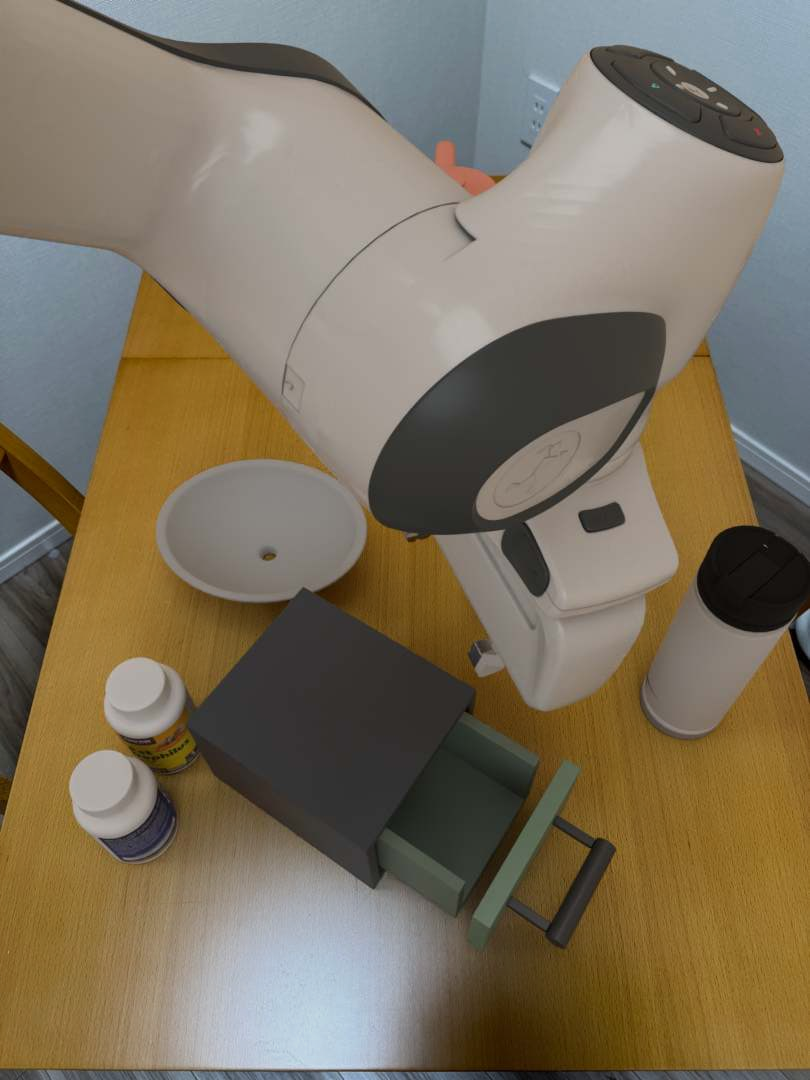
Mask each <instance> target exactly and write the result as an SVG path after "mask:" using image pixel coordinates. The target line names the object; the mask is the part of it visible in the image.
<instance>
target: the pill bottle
mask: <svg viewBox="0 0 810 1080" xmlns="http://www.w3.org/2000/svg"><path fill="white" fill-rule="evenodd" d="M68 790H69V791H68V792H69V795H70V798H71V801H72V802H71V806H72V813H73V815H74V816H73V817H74V818H75V820H76V822H77V823H78V825H79V826H80V828H82V830H84V832H86V833H87V834H88V835H89V836H90V837H91V838H92V839H94V841H96V842H97V843H98V844H99V845H100V846H101V847H102V848H103V849H104V850H105V851H106V852H107V853H109V855H111V856H112V857H113V858H115V859H116V860H117V861H120V862H122V863H125V864H128V865H129V864H130V865H140V864H146V863H149V862H151V861H154V860H155V859H157V858H159V857H160V856H161V855H163V854H164V853H165V852H166V851H167V850H168V849H169V847H170V846H171V845H172V843H173V841H174V840H175V837H176V836H177V833H178V830H179V824H180V823H179V821H180V819H179V818H180V816H179V811H178V808H177V807H178V806H176V804H175V801H174V799H173V797H171V795H170V794H169V793H168V791H167V790H166V788H165V787H164V785H163V784H162V783H161V781H160V780H159V779H158V777H157V776H156V774H155V773H153V772H152V771H151V769H150V768H149V767H148V766H147V765H146V764H145V763H144V762H142V761H141V760H139V759H137V758H134V757H133V756H130V755H125V754H123V753H121V752H120V751H118V750H113V749H102V750H97V751H95V752H92V753H90V754H89V755H87V756H85V757H84V758H83V759H82V760H80V761H79V763H77V764H76V766H75V767H74V769H73V771H72V773H71V775H70V779H69V784H68Z"/></svg>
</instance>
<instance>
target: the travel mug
mask: <svg viewBox="0 0 810 1080" xmlns="http://www.w3.org/2000/svg"><path fill="white" fill-rule="evenodd" d="M809 597H810V560H809V559H808V557H806V555H805V554H804V553H803V552H802V551H801V552H800V550H799V549H798V548H797V547H796V546H795V545H793V544H792V543H791V542H790V541H788V540H786V539H785V538H783V537H781V536H779V535H777V532H775V531H772V530H770V529H768V528H765V527H762V526H758V525H750V524H749V525H747V524H744V525H743V524H742V525H734V526H731V527H728V528H725V529H724V530H722V531H719V533H718V534H717V535H715V537H714V538H713V540H712V541H711V543H710V546H709V548H708V549H707V551H706V554H705V555H704V558H703V559H702V561H701V562H700V564H699V566H698V568H697V570H696V572H695V574H694V576H693V578H692V579H691V582H690V584H689V586H688V588H687V590H686V593H685V595H684V597H683V599H682V601H681V602H680V605H679V607H678V609H677V611H676V613H675V615H674V617H673V619H672V622H671V623H670V626H669V627H668V629H667V631H666V633H665V636H664V638H663V640H662V641H661V644H660V646H659V648H658V650H657V652H656V654H655V656H654V659H653V660H652V662H651V665H650V667H649V669H648V671H647V673H646V674H645V677H644V678H643V681H642V683H641V686H640V690H639V700H640V705H641V709H642V711H643V713H644V715H645V717H646V718H647V719H648V721H649V722H650V724H652V725H653V726H654V727H655V728H656V729H657V730H659V731H660V732H662V733H664V734H665V735H667V736H669V737H672V738H675V739H680V740H685V741H687V740H696V739H702V738H703V737H706V736H708V735H709V734H711V733H713V731H714V730H715V729H716V728H717V727H718V726H719V725H720V723H721V722H722V720H723V718H724V717H725V716H726V715H727V713H728V712H729V710H731V708H732V706H733V705H734V703H735V702H736V701H737V699H738V698H739V697H740V695H741V693H742V692H743V691H744V690H745V688H746V687H747V685H748V684H749V683H750V682H751V680H752V679H753V677H754V675H755V674H756V673H757V671H758V670H759V668H760V667H761V666H762V664H763V663H764V662H765V660H766V659H767V658H768V656H769V655H770V653H771V652H772V650H773V649H774V647H775V646H776V645H777V644H778V642H779V641H780V639H781V638H782V636H783V635H784V634H785V633H786V631H787V630H788V628H789V627H790V626H791V624H792V622H793V621H794V620H795V619H796V617H797V615H798V612H799V611H800V610H801V609H802V607H803V606H804V604H805V603H806V601H808V599H809Z"/></svg>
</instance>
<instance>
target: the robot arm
mask: <svg viewBox="0 0 810 1080" xmlns="http://www.w3.org/2000/svg"><path fill="white" fill-rule="evenodd" d="M785 170H786V157H785V154H784V151H783V149H782V147H781V146H780V143H779V141H778V140H777V136H776V134H775V133H774V131H773V130H772V129H771V128H770V127H769V126H768V124H767V122H766V121H765V119H763V118H762V116H761V115H760V114H759V113H757V112H756V111H755V110H754V109H753V108H751V107H750V106H748V105H747V104H746V103H745V102H743V101H742V100H740V99H739V98H738V97H737V96H735V95H734V94H732V93H731V92H730V91H729V90H727V89H725V88H724V87H722V86H721V85H719V84H718V83H716V82H715V81H713V80H712V79H709V78H708V77H707V76H706V75H704V74H702V73H701V72H699V71H697V70H696V69H691V68H688V67H687V66H685V65H683V64H680V63H678V62H677V61H675V60H674V59H673V58H671V57H668V56H666V55H664V54H661V53H658V52H655V51H653V50H648V49H645V48H640V47H637V46H634V45H633V46H632V45H626V44H614V45H600V46H595V47H592V48H590V49H588V50H587V51H585V52H584V53H582V56H581V57H580V58H579V59H578V61H577V62H576V64H575V65H574V67H573V68H572V69H571V71H570V73H569V75H568V76H567V77H566V79H565V81H564V82H563V85H562V87H561V88H560V90H559V92H558V93H557V95H556V98H555V99H554V101H553V103H552V105H551V106H550V108H549V110H548V112H547V114H546V117H545V119H544V120H543V122H542V124H541V127H540V128H539V131H538V132H537V134H536V137H535V139H534V141H533V143H532V145H531V147H530V150H529V152H528V154H527V155H526V157H525V159H524V160H523V161H522V162H521V163H520V164H519V165H517V167H516V168H514V169H513V171H512V172H510V173H509V174H507V176H505V177H504V178H502V179H501V180H500V181H499V182H497V183H496V185H494V186H493V187H491V188H490V189H488V190H486V191H484V192H482V193H481V194H479V195H476V196H472V195H471V194H470V193H469V192H468V191H467V190H465V189H464V188H463V187H462V186H461V185H460V184H458V183H457V182H456V181H455V180H454V179H453V178H451V177H450V176H449V175H448V174H447V173H446V172H444V171H443V170H442V169H441V168H440V167H439V166H437V165H436V164H435V161H433V160H432V159H431V158H430V157H428V156H427V155H426V154H425V153H423V152H422V151H421V150H420V149H419V148H418V147H417V146H416V145H414V144H413V142H412V143H411V141H410V140H408V139H407V138H406V137H405V136H404V135H403V134H401V133H400V132H399V131H398V130H397V129H395V128H394V127H393V126H392V125H391V124H390V123H389V122H388V121H387V120H386V118H385V117H384V116H383V114H382V113H381V112H380V111H379V109H378V108H377V107H375V106H374V105H373V104H372V103H371V101H369V100H368V99H367V97H365V96H364V95H363V94H362V93H361V92H360V91H359V89H358V88H357V87H356V86H354V85H353V83H352V82H351V81H350V80H349V79H348V78H347V77H346V76H345V75H344V74H343V73H342V72H341V71H340V69H339V70H338V68H337V67H336V66H334V65H333V64H332V63H331V62H330V61H328V60H326V59H325V58H323V57H321V56H320V55H318V54H316V53H314V52H312V51H309V50H306V49H304V48H301V47H296V46H294V45H289V44H288V45H287V44H281V43H273V42H193V41H185V40H177V39H171V38H166V37H162V36H158V35H155V34H152V33H149V32H146V31H143V30H141V29H138V28H135V27H133V26H130V25H128V24H125V23H123V22H121V21H119V20H117V19H115V18H113V17H111V16H108V15H106V14H104V13H102V12H99V11H98V10H96V9H93V8H91V7H89V6H87V5H84V4H83V3H80V2H78V1H76V0H0V236H6V237H13V238H14V237H15V238H20V239H27V240H35V241H42V242H50V243H56V244H63V245H70V246H71V245H72V246H77V247H85V248H90V249H99V250H105V251H109V252H112V253H115V254H117V255H119V256H121V257H123V258H124V259H127V260H128V261H130V262H131V263H133V264H134V265H136V266H137V267H139V268H140V269H141V270H143V271H144V272H145V273H147V275H148V276H149V277H151V279H152V280H153V281H154V282H156V284H158V286H160V288H162V290H164V292H165V293H166V294H167V295H169V297H171V299H172V300H174V301H175V302H176V304H177V305H178V306H179V307H181V308H182V309H184V310H185V311H186V312H187V313H188V314H190V315H191V316H192V317H193V318H194V319H195V320H196V321H197V322H198V324H200V326H201V327H202V328H203V329H204V330H205V331H206V332H207V333H208V334H209V335H210V337H211V338H212V339H213V340H214V341H215V342H216V343H217V344H218V345H219V346H220V347H221V348H222V350H223V351H224V352H225V353H226V355H228V357H230V359H231V360H232V361H233V362H234V363H235V364H236V365H237V366H238V367H239V368H240V370H241V371H242V372H243V373H244V374H245V376H246V377H247V378H248V379H249V380H250V381H251V382H252V383H253V384H254V386H256V388H257V389H258V390H259V391H260V392H261V394H263V395H264V397H265V398H266V399H267V400H268V401H269V402H270V403H271V405H273V407H274V408H275V409H276V410H277V411H278V412H279V413H280V415H282V417H283V418H284V419H285V420H286V421H287V423H288V424H289V425H290V427H291V430H293V431H294V432H295V433H296V434H297V435H298V437H299V438H300V439H301V440H302V441H303V442H304V443H305V445H307V447H308V449H310V450H311V451H312V452H313V453H314V455H315V456H316V457H317V458H318V459H319V460H320V462H322V464H323V466H325V467H326V468H327V469H328V470H329V471H330V472H331V474H332V475H333V476H334V477H335V479H337V480H338V481H339V482H341V483H342V484H343V485H344V486H345V487H346V488H347V489H348V490H349V492H350V493H351V494H352V495H353V496H354V497H355V498H356V499H357V500H358V501H359V503H360V505H361V506H362V507H364V508H365V509H366V510H367V511H368V512H369V513H371V514H372V516H373V517H374V519H375V520H376V521H377V522H378V523H379V524H381V525H382V526H384V527H385V528H388V529H391V530H395V531H399V532H401V533H402V535H403V536H404V538H405V540H406V541H407V542H408V543H414V542H416V541H417V540H420V541H423V540H426V539H428V538H430V537H431V536H433V538H434V539H435V542H436V543H437V545H438V547H439V549H440V550H441V552H442V554H443V556H444V558H445V560H446V561H447V564H448V565H449V567H450V568H451V571H452V572H453V574H454V576H455V578H456V579H457V582H458V583H459V585H460V587H461V588H462V589H461V590H463V592H464V594H465V597H466V598H467V600H468V601H469V603H470V605H471V607H472V609H473V611H474V612H475V614H476V616H477V618H478V620H479V621H480V623H481V626H482V627H483V629H484V631H485V632H486V635H487V636H488V638H485V637H484V638H481V639H478V640H475V641H473V642H472V644H471V646H470V650H468V651H467V652H466V654H467V657H468V659H469V661H470V662H471V665H472V667H473V668H474V669H473V670H474V671H475V673H476V674H477V676H478V678H484V677H486V676H489V675H493V674H495V673H499V672H500V671H502V670H504V669H506V670H507V672H508V675H509V676H510V678H511V680H512V682H513V683H514V685H515V687H516V689H517V691H518V694H519V695H520V697H521V699H522V700H523V702H524V703H525V704H526V705H527V706H528V707H530V708H531V709H534V710H537V711H540V712H552V711H555V710H558V709H561V708H565V707H567V706H569V705H572V704H574V703H577V702H579V701H582V700H584V699H586V698H588V697H590V696H592V695H593V694H595V693H596V692H598V691H599V690H600V689H601V688H602V687H603V686H604V685H605V684H606V683H607V682H608V680H609V679H610V678H611V677H612V676H613V674H614V673H615V672H616V670H617V669H618V668H619V666H620V665H621V664H622V662H623V661H624V659H626V656H627V655H628V654H629V652H630V650H631V648H632V647H633V646H634V645H635V642H636V640H637V639H638V637H639V635H640V633H641V632H642V629H643V626H644V623H645V620H646V615H647V614H646V613H647V597H646V594H648V593H650V592H652V591H654V590H656V589H658V588H659V587H661V586H663V585H665V584H667V583H668V582H669V581H671V580H672V578H673V577H674V576H675V574H676V573H677V571H678V569H679V565H680V560H679V558H680V557H679V553H678V551H677V548H676V545H675V541H674V539H673V537H672V534H671V532H670V530H669V528H668V526H667V522H666V520H665V518H664V515H663V512H662V510H661V507H660V505H659V501H658V499H657V497H656V494H655V490H654V488H653V485H652V481H651V477H650V474H649V471H648V467H647V462H646V459H645V454H644V450H643V447H642V444H641V441H640V439H641V437H642V435H643V433H644V431H645V429H646V428H647V425H648V422H649V418H650V414H651V411H652V405H653V402H654V400H655V397H656V396H657V394H658V393H659V392H660V391H661V390H662V389H664V387H666V385H668V384H669V383H670V382H671V381H673V380H674V379H675V378H676V377H677V376H679V375H680V373H682V372H683V371H684V369H685V368H686V367H687V365H688V364H689V363H690V362H691V360H692V359H693V357H694V355H695V354H696V353H697V351H698V349H699V347H700V345H702V343H703V341H704V339H705V338H706V337H707V335H708V333H709V331H710V330H711V329H712V327H713V325H714V323H715V321H717V318H718V316H719V315H720V313H721V311H722V310H723V308H724V306H725V305H726V302H727V301H728V299H729V298H730V295H731V293H732V292H733V290H734V288H735V286H736V285H737V282H738V280H739V279H740V277H741V275H742V273H743V271H744V269H745V268H746V265H747V263H748V261H749V259H750V257H751V255H752V253H753V251H754V249H755V247H756V245H757V243H758V240H759V239H760V236H761V234H762V232H763V230H764V227H765V225H766V222H767V221H768V218H769V216H770V213H771V211H772V208H773V206H774V203H775V201H776V198H777V195H778V193H779V190H780V188H781V184H782V180H783V176H784V174H785Z"/></svg>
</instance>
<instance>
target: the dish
mask: <svg viewBox="0 0 810 1080" xmlns="http://www.w3.org/2000/svg"><path fill="white" fill-rule="evenodd" d="M367 537H368V522H367V517H366V514H365V512H364V509H363V506H362V504H361V503H360V502H359V501H358V500H357V499H356V498H355V497H354V496H353V495H352V494H351V493H350V492H349V490H348V489H347V488H346V487H345V486H344V485H343V484H342V483H341V482H340V481H339V480H338V479H337V478H336V477H333V476H332V475H330V474H329V473H326V472H325V471H323V470H320V469H317V468H315V467H312V466H309V465H307V464H303V463H300V462H296V461H290V460H283V459H275V458H272V459H271V458H251V459H243V460H235V461H231V462H226V463H222V464H220V465H216V466H213V467H211V468H207V469H206V470H203V471H201V472H198V473H197V474H195V475H193V476H192V477H190V478H189V479H187V480H185V481H184V482H183V483H181V484H180V485H179V486H178V487H176V489H175V490H173V492H171V494H170V495H169V496H168V497H167V498H166V500H165V502H164V503H163V505H162V506H161V509H160V511H159V513H158V516H157V518H156V523H155V540H156V546H157V548H158V551H159V553H160V555H161V557H162V559H163V561H164V562H165V563H166V565H167V566H168V568H169V569H170V570H171V571H172V572H173V573H174V574H175V575H176V576H177V577H179V578H180V579H181V580H182V581H184V582H185V583H187V584H188V585H190V586H191V587H192V588H194V589H197V590H198V591H200V592H203V593H204V594H208V595H210V596H213V597H217V598H219V599H223V600H227V601H232V602H239V603H249V604H270V603H271V604H272V603H281V602H288V601H291V600H292V599H293V598H294V597H295V595H296V594H297V593H298V592H299V591H300V590H301V589H302V587H305V588H306V589H308V590H310V591H311V592H313V593H315V594H316V593H318V592H320V591H322V590H324V589H327V588H328V587H329V586H331V585H333V584H334V583H336V582H337V581H339V580H341V578H343V577H344V576H345V575H346V574H348V572H349V571H350V570H351V569H353V567H354V566H355V565H356V563H357V562H358V560H359V559H360V557H361V556H362V553H363V551H364V548H365V545H366V543H367ZM268 554H272V555H274V556H275V557H274V558H272V559H270V560H265V559H264V558H265V556H267V555H268Z"/></svg>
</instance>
